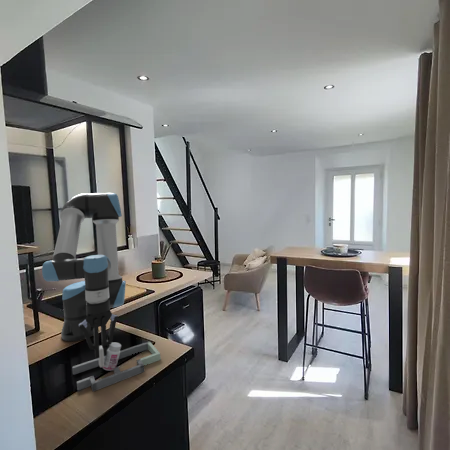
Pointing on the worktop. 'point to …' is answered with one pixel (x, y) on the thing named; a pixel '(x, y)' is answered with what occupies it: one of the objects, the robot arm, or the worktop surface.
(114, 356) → the pill bottle
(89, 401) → the worktop surface
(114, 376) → the channel
